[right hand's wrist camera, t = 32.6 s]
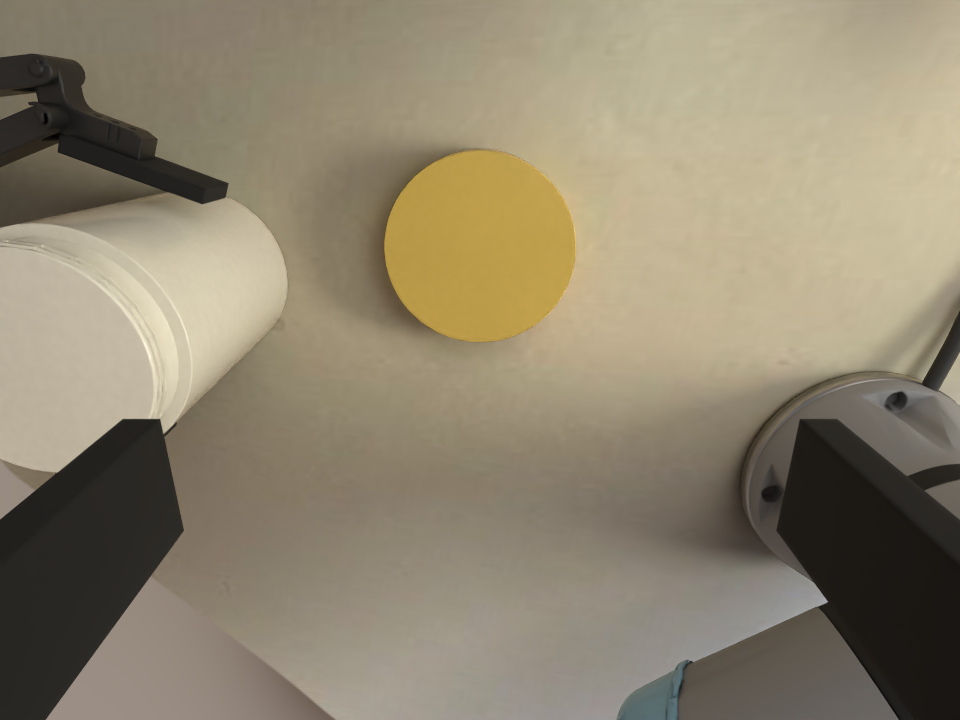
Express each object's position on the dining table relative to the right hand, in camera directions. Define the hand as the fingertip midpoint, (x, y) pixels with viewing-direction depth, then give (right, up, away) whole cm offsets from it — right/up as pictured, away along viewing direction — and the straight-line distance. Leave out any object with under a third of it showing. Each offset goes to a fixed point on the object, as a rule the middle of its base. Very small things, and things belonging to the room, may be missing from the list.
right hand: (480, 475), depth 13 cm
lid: (0, +9, +22) cm, 24 cm away
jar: (-17, +8, +25) cm, 31 cm away
